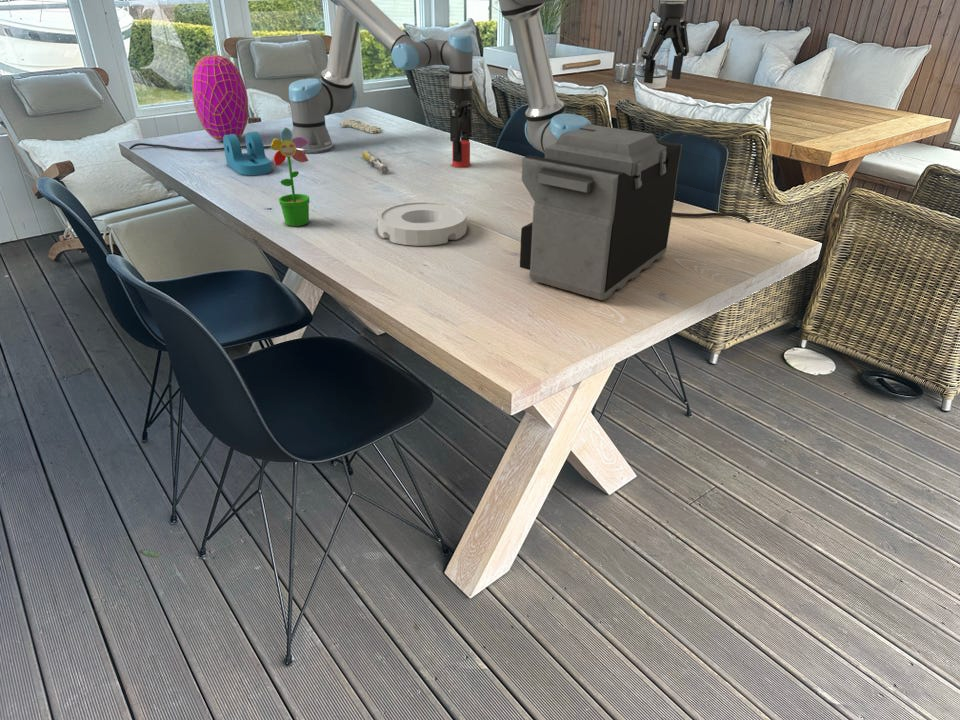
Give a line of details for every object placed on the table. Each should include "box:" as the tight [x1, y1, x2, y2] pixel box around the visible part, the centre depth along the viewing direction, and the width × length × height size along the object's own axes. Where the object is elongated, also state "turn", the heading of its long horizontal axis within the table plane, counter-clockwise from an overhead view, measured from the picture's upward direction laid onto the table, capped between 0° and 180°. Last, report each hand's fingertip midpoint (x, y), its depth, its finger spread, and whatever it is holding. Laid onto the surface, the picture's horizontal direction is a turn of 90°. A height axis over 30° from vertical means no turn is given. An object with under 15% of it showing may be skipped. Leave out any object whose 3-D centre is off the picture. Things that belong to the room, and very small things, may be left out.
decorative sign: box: [340, 118, 382, 134], centre depth 285 cm, size 26×1×10 cm
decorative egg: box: [191, 54, 249, 142], centre depth 255 cm, size 19×19×30 cm
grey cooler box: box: [519, 124, 683, 301], centre depth 152 cm, size 37×22×30 cm, turn 144°
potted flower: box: [270, 127, 310, 227], centre depth 177 cm, size 9×8×25 cm
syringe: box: [361, 149, 390, 175], centre depth 234 cm, size 25×4×3 cm, turn 21°
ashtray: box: [376, 200, 468, 247], centre depth 179 cm, size 23×23×4 cm
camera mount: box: [222, 131, 272, 176], centre depth 226 cm, size 18×10×10 cm, turn 35°
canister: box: [451, 139, 471, 169], centre depth 234 cm, size 6×6×8 cm
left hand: (461, 158), depth 235 cm, fingers closed on canister, 6 cm apart
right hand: (661, 81), depth 210 cm, fingers open, 13 cm apart
